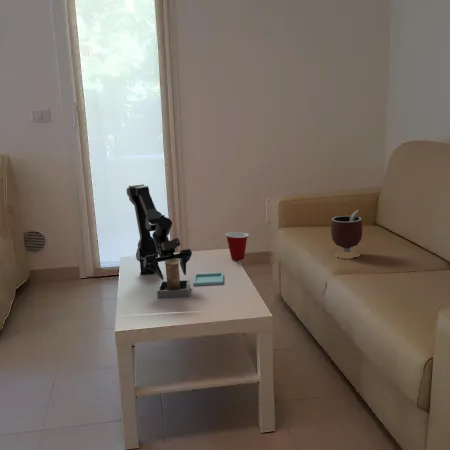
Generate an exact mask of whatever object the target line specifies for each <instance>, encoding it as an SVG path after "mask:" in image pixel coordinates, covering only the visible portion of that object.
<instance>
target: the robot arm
mask: <svg viewBox="0 0 450 450" xmlns="http://www.w3.org/2000/svg"><path fill="white" fill-rule="evenodd" d="M126 195H127V196H128V199H129V201H130V202H131V204H132V205H133V206H134V211H135V216H136V217H135V218H136V221H137V228H138V233H139V240H138V242H137V248H136V252H135V253H136V254H135V257H136V260H137V261H138V262H139V267H140V273H139V275H142V276H143V275H155V274H156V276H158V277H159V278H160V279H161V280H162V281H164V275H163V273H162V271H161V267H160V266H159V263H161V262H165V260H167V259H172V258H175V259H179V266H180V268H181V271H182V274H183V275H184V276H186V275H187V263H188V262H189V261H190V260H191V258H192V255H193V252H192V250H191V249H190V248H189V247H188V248H184V249H180V251H179V252H178V253H176V249H177V248H178V247H180V246H181V242H180V238H179V237H174V238H173V239H172V240H170V239H169V236H168V235H170V232H171V229H172V226H173V221H172V220H171V219H170V218H169V217H167V216H165V214H162V213H161V212H160V211H158V209H157V208H156V206H155V204H154V201H153V199H152V196H151V193H150V187H149V186H148V185H144V183H138V184H130V185H129V186H128V187H127V188H126ZM151 232H152V235H151Z"/></svg>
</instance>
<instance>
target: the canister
mask: <svg viewBox="0 0 450 450" xmlns="http://www.w3.org/2000/svg"><path fill="white" fill-rule="evenodd" d="M164 265H165V275H166V281H167V289H168V290H174V289H180V280H181V278H180V261H179V259H175V258H172V259H167V260H165V261H164Z"/></svg>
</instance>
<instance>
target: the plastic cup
mask: <svg viewBox="0 0 450 450" xmlns="http://www.w3.org/2000/svg"><path fill="white" fill-rule="evenodd" d="M249 235H250V234H249V233H247V232H240V231H239V232H238V231H232V232H226V233H225V237H226V240H227V244H228V250H229V254H230V258H231V260H232V261H242V260H244V259H245V256H246V255H245V254H246V246H247V241H248V237H249Z"/></svg>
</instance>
